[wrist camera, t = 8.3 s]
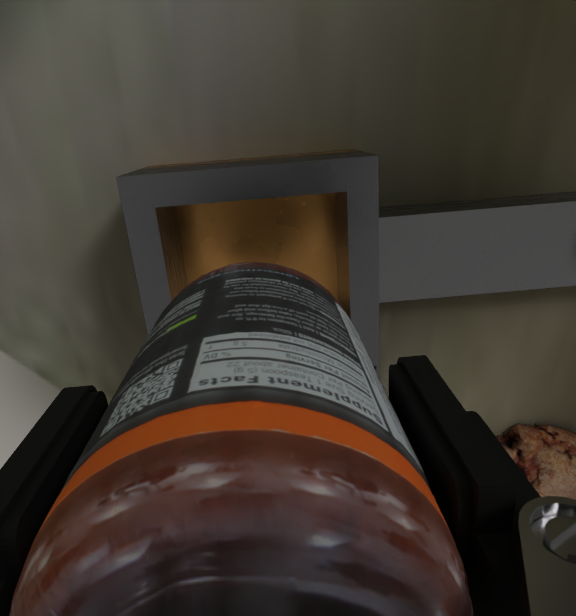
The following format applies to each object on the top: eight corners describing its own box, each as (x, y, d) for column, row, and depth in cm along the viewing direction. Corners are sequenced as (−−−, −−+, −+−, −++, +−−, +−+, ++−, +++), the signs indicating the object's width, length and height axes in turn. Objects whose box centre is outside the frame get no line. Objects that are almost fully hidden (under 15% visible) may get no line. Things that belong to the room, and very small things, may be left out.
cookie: (518, 568, 33) (542, 610, 30) (408, 498, 30) (423, 536, 27) (633, 475, 30) (671, 510, 27) (525, 389, 27) (555, 418, 25)
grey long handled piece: (695, 121, 22) (811, 119, 17) (654, 310, 26) (741, 351, 21) (148, 166, 22) (116, 177, 17) (180, 352, 25) (161, 403, 21)
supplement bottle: (297, 462, 15) (364, 1185, 5) (124, 391, 14) (-284, 1146, 4) (394, 311, 14) (830, 930, 3) (206, 216, 12) (-121, 698, 2)
